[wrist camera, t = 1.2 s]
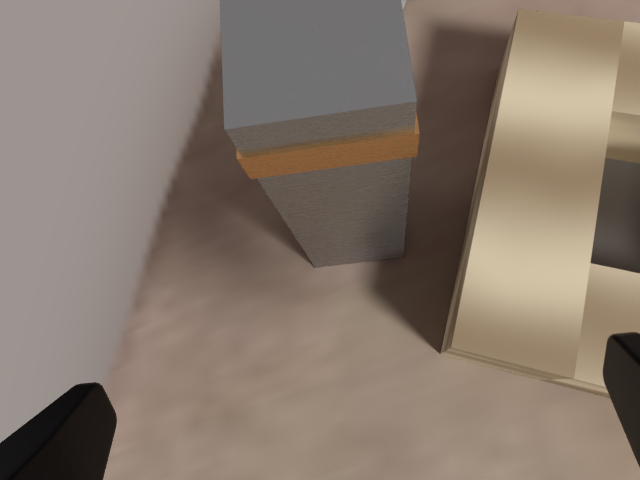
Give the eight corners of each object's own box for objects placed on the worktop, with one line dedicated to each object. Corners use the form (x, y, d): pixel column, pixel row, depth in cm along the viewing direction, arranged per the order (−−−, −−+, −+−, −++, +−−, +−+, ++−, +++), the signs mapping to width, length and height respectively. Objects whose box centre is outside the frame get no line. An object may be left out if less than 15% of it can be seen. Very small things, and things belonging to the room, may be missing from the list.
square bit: (405, 259, 22) (422, 104, 10) (312, 269, 23) (219, 134, 10) (393, 172, 24) (396, -61, 11) (305, 184, 24) (215, -28, 12)
